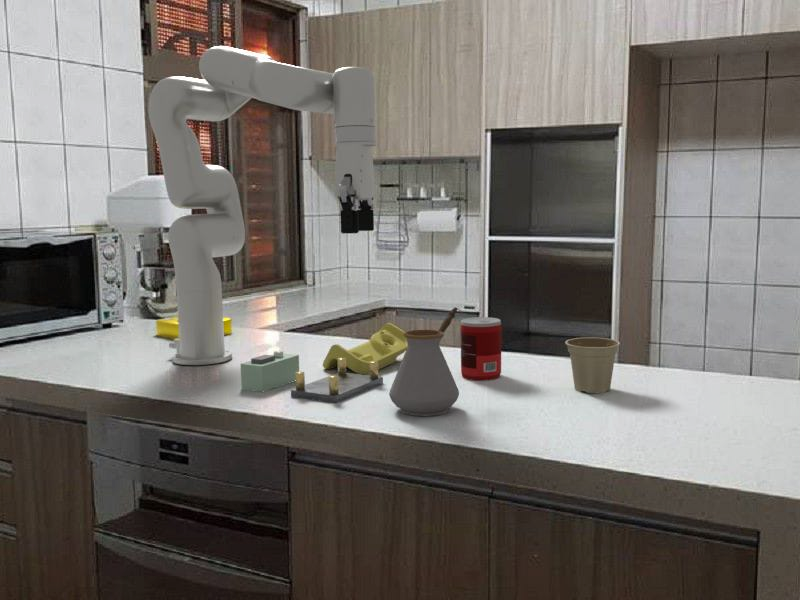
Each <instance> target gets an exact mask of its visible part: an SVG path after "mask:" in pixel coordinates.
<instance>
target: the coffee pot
mask: <svg viewBox="0 0 800 600" xmlns="http://www.w3.org/2000/svg"><path fill="white" fill-rule="evenodd" d="M458 311H460V313H461V315H459V316H457V315H455V314H457V312H458ZM447 315H448V316H447V317H446V318H444V319H443V321H442V323H441V325H440V327H439V329H438V330H436V329H413V330H406V331H404V332H405V333H404V336H405V337H406V339H407V343H408V347H407V349H406V351H405V352H404V353H403V354H404V355H403V357H402V360H401V362H400V365H399V367H398V370H397V372H396V375H395V377H394V379H393V382H392V384H391V388H390V389H389V398H390V400H391V402H392V403H393V404H394V405H395V406H396V407H397V408H398V409H400V411H401V412H402V413H403V414H406V415H410V416H418V417H422V416H423V417H431V416H437V415H442V414H444V413H446V412H448V411H449V408H451V407H453V405H455V403H456V402H457V401H458V398H459V396H460V390H459V388H458V386H457V383H456V381H455V378H454V376H453V373H452V372H451V370H450V367H449V365H448V363H447V360H446V358H445V356H444V353H443V351H442V349H441V347H440V342H441V340H442V338H443V337H444V333H445V332H446V330H447V329H448V328H449V327H450V325H451V323H452V320H453V319H454V318H461V317H463V311H462V310H461V309H459V308H458V307H455V306H454V307H453V308H452V309H451V310H450V312H448V313H447Z"/></svg>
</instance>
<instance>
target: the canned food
mask: <svg viewBox="0 0 800 600" xmlns="http://www.w3.org/2000/svg"><path fill="white" fill-rule="evenodd" d="M501 320H502V319H500V318H498V317H491V316H490V317H487V316H486V317H485V316H477V317H467V318H462V319H461V320H460V368H461V369H460V373H461V377H462V378H464V379H466V380H468V381H469V380H470V381H477V382H478V381H494V380H496V379H498V378H500V376H501V373H502V321H501Z"/></svg>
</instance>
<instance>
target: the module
mask: <svg viewBox="0 0 800 600" xmlns="http://www.w3.org/2000/svg"><path fill="white" fill-rule="evenodd" d="M296 372H300V356H299V354H293V353H292V354H290V353H284V350H274V351H273V354H271V355H270V354H262V355H259V356H255V357H252V358H251V359H250V360H249V361H246V362H243V363H240V382H241V383H240V384H241V390H243V389H245V390H244V391H250V390H254V391H253V392H257V391H261V392H260V393H264V392H263V391H265V392H267V391H266V390H268V391H270V390H269V389H271V388H274V389H276V388H275V387H277V386H280V387H282V386H284V385H283V384H285V385H287V384H286V383H288V384H290V383H289V382H291V383H293V382H292V381H294V382H296V381H295V380H296V379H295V373H296ZM281 385H282V386H281ZM277 388H278V387H277ZM271 390H272V389H271Z"/></svg>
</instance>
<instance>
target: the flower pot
mask: <svg viewBox="0 0 800 600" xmlns="http://www.w3.org/2000/svg"><path fill="white" fill-rule="evenodd" d="M564 344H565V345H566V346H567V352H569V356H570V357H569V359H570V363H571V371H572V377H573V378H572V379H573V386H574V387H573V388H574V389H575V390H576V391H577V392H580V393H581V392H586V393H587V394H604V393H606V392H608V391H610V390H611V386H612V380H613V372H614V365H615V359H616V358H615V357H616V354H617V353H618V348H619V347H620V346H621V343H620V341H618V340H616V339H611V338H604V337H591V336H590V337H576V338H571V339H567V340H565V343H564Z"/></svg>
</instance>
